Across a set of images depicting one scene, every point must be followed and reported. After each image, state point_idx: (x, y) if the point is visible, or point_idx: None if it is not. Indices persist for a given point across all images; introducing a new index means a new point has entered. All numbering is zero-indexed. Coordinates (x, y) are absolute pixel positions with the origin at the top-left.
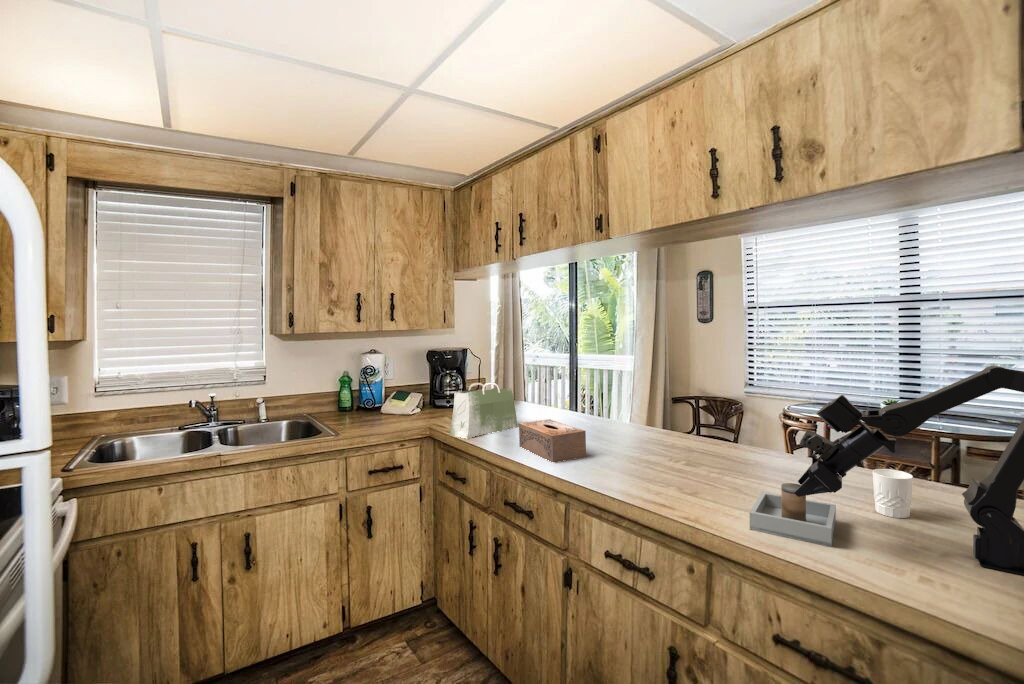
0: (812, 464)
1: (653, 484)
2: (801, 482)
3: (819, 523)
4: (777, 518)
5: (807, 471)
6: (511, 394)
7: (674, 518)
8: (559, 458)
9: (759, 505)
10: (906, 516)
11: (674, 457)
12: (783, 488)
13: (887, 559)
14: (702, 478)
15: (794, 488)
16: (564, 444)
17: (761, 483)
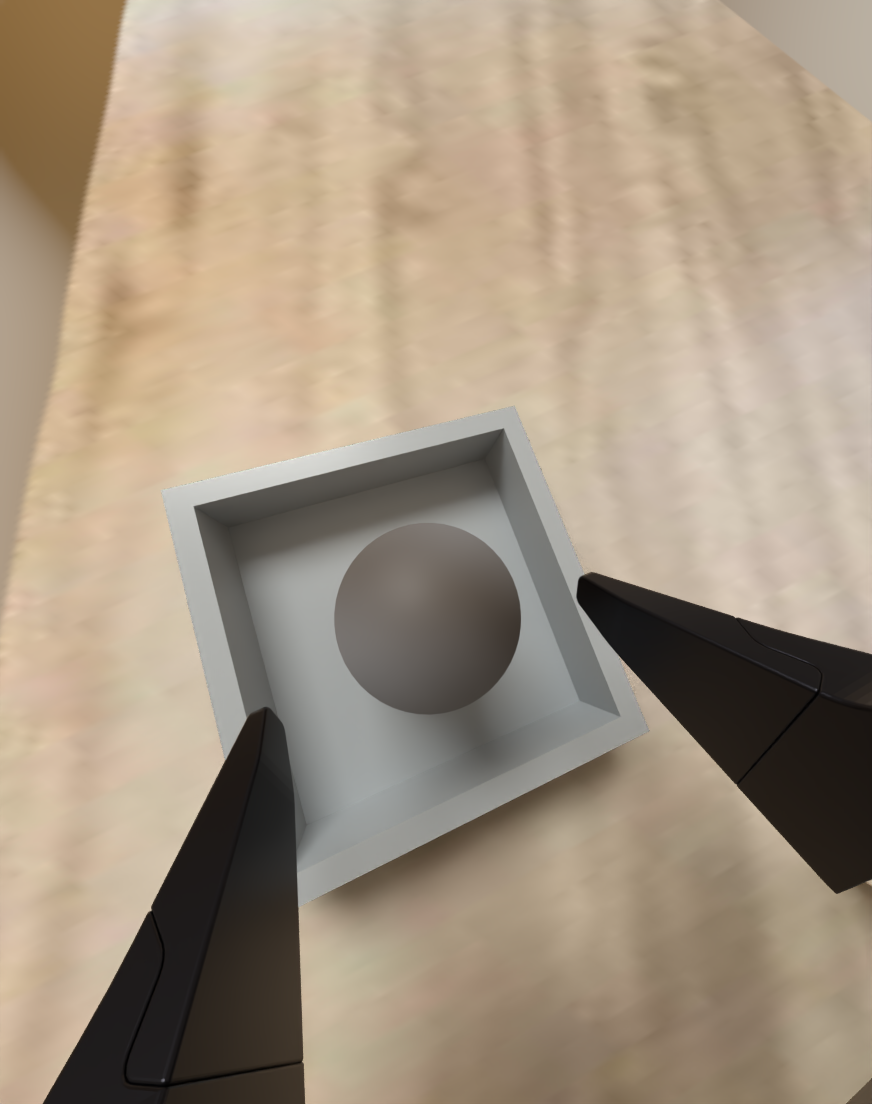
0: (853, 710)
1: (372, 82)
2: (588, 600)
3: (482, 699)
4: (196, 629)
5: (704, 643)
6: None
7: (76, 266)
8: None
9: (331, 474)
10: (868, 884)
11: (681, 44)
12: (351, 567)
13: (354, 1093)
14: (579, 180)
15: (388, 643)
16: None
17: (714, 342)
